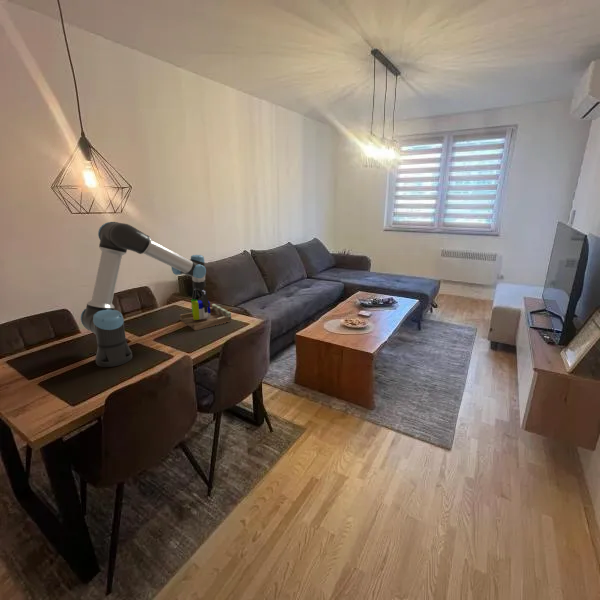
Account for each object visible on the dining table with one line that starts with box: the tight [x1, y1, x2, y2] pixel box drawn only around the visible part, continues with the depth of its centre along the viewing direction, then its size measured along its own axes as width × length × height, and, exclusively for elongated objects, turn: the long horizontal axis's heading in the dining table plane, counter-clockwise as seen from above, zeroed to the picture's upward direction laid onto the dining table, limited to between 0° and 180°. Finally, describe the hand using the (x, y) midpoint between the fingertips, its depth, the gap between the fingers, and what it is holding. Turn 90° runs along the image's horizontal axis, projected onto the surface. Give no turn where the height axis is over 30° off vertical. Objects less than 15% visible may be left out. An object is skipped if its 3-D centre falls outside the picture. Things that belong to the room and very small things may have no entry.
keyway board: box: [179, 303, 232, 331], centre depth 206 cm, size 22×24×6 cm
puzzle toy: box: [190, 298, 211, 320], centre depth 203 cm, size 10×10×10 cm
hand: (201, 314), depth 204 cm, fingers closed on puzzle toy, 12 cm apart
